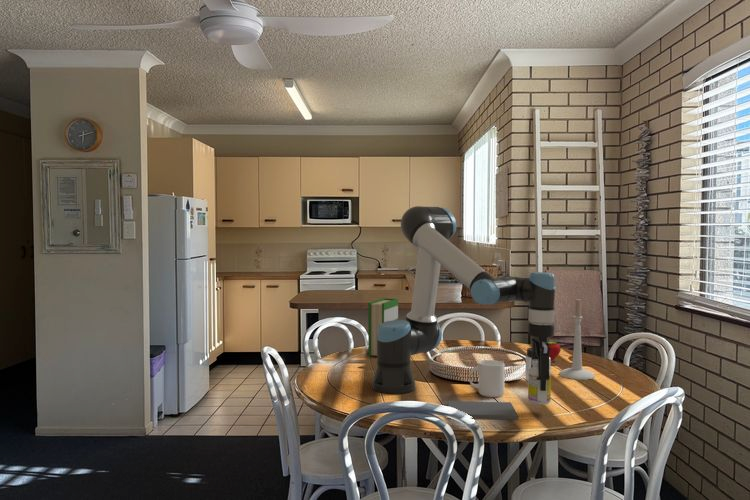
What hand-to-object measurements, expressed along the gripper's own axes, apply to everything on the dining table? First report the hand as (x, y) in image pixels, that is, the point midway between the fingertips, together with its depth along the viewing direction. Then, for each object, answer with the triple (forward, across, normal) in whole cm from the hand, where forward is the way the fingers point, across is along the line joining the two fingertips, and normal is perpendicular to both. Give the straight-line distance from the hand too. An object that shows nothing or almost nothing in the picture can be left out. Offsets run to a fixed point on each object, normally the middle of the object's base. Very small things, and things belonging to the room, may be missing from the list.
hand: (539, 396), depth 175 cm
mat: (+5, -1, +18) cm, 18 cm away
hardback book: (+6, +79, +52) cm, 95 cm away
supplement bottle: (+2, 0, 0) cm, 2 cm away
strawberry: (+5, +70, -20) cm, 73 cm away
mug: (+5, +19, +14) cm, 24 cm away
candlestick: (+5, +46, -24) cm, 52 cm away
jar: (+5, +36, -7) cm, 37 cm away
